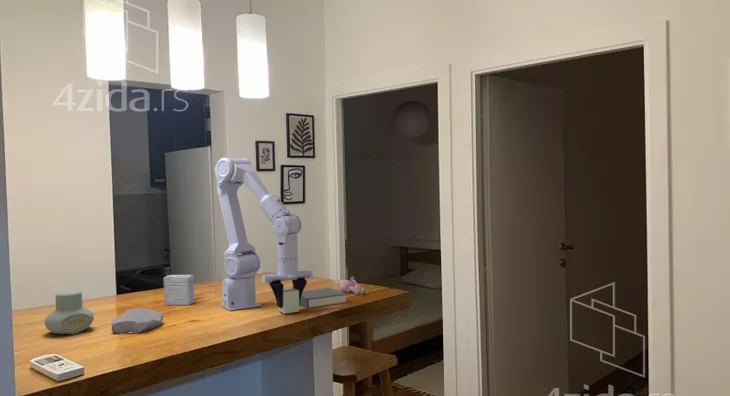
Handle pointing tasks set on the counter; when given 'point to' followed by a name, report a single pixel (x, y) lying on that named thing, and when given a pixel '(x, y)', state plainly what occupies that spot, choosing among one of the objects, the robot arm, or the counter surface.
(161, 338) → the counter surface
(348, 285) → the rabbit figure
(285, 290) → the sage block
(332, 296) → the book
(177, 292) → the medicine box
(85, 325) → the air freshener
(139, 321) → the stone block
